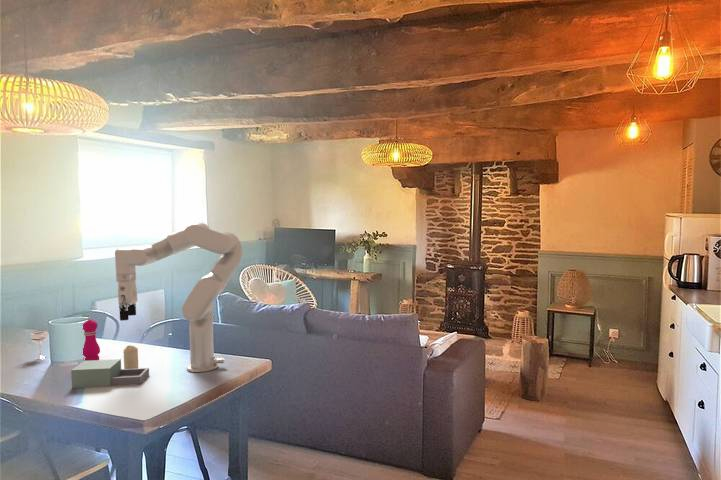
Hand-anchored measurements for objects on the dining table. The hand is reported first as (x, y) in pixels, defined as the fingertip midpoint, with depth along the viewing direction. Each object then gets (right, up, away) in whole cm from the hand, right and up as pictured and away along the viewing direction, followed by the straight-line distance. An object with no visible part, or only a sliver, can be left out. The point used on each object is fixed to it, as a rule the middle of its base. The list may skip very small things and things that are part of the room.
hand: (128, 317), depth 215 cm
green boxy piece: (0, -23, -14) cm, 27 cm away
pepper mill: (-23, -22, +14) cm, 35 cm away
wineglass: (-50, -22, +20) cm, 58 cm away
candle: (+1, -22, +2) cm, 22 cm away
